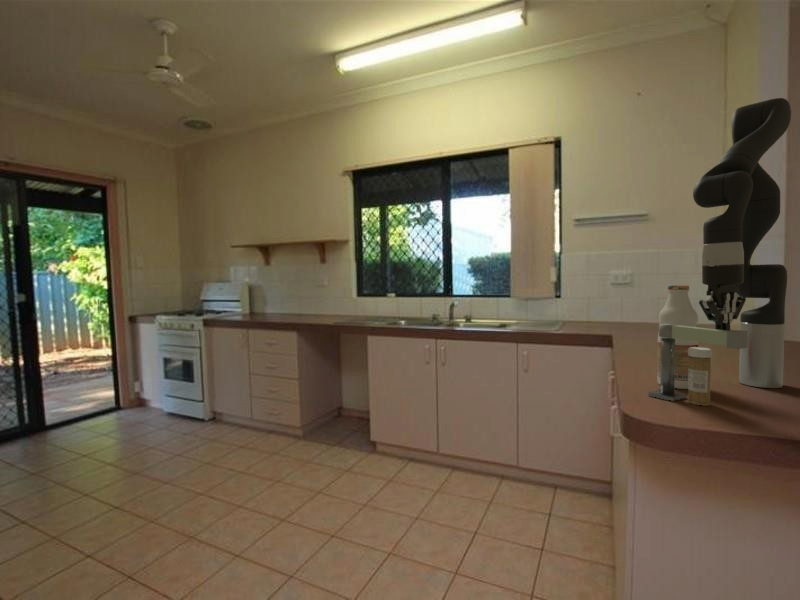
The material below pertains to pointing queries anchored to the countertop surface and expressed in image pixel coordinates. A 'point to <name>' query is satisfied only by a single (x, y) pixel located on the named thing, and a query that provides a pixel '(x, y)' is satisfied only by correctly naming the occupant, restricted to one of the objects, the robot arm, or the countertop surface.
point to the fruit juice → (684, 315)
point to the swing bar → (705, 335)
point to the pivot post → (667, 372)
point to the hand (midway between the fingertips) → (722, 339)
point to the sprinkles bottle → (699, 376)
